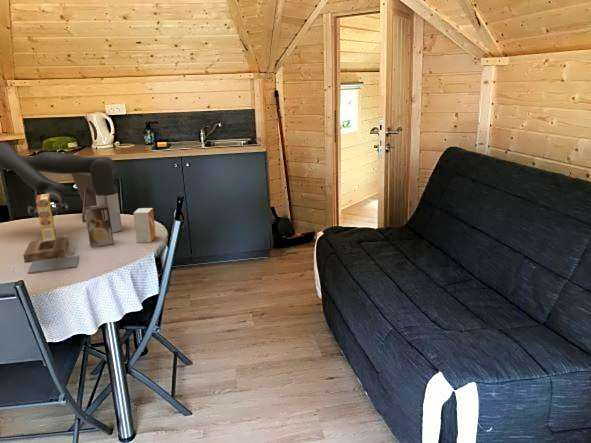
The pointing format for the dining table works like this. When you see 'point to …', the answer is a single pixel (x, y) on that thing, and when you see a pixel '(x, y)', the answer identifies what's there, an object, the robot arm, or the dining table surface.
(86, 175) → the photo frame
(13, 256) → the dining table surface
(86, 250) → the dining table surface
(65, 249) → the pocket board
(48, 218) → the candy box
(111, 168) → the robot arm
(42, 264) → the slate mat
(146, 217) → the small box
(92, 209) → the coffee box
